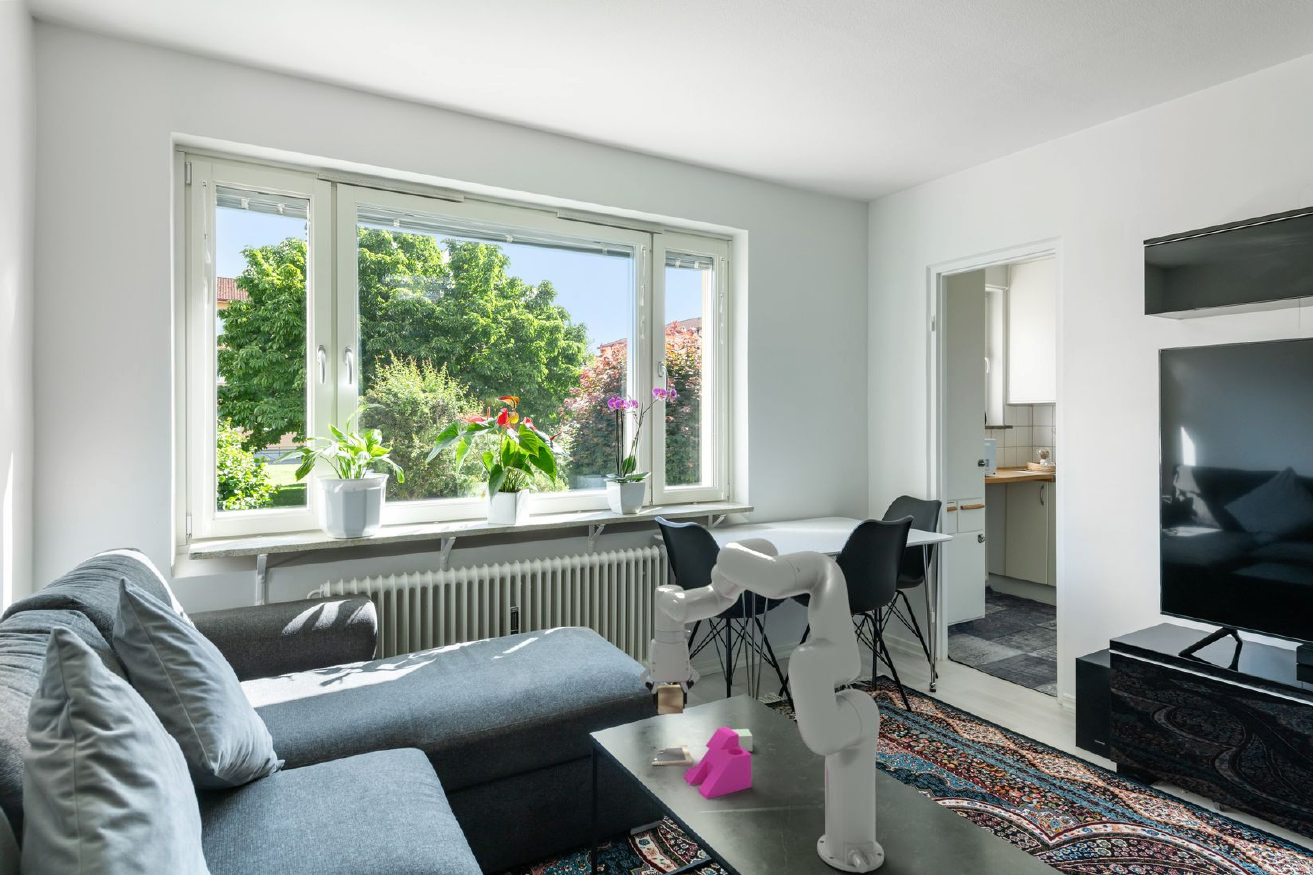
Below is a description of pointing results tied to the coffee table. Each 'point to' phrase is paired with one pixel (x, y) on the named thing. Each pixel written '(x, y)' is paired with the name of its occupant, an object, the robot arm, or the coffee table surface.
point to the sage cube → (744, 738)
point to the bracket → (722, 766)
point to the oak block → (670, 699)
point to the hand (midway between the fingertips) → (669, 706)
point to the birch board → (674, 756)
